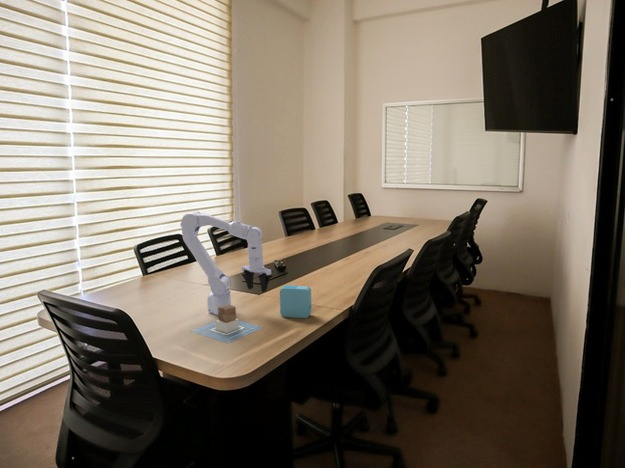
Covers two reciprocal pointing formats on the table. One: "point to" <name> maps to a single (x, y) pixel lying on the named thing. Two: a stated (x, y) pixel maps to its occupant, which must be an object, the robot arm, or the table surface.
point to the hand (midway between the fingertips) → (257, 290)
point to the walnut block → (227, 313)
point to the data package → (295, 301)
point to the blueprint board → (227, 337)
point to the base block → (226, 326)
